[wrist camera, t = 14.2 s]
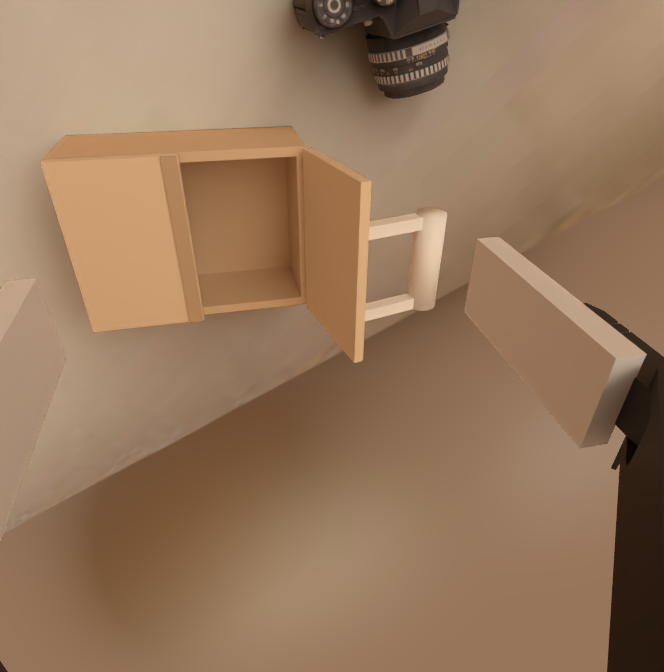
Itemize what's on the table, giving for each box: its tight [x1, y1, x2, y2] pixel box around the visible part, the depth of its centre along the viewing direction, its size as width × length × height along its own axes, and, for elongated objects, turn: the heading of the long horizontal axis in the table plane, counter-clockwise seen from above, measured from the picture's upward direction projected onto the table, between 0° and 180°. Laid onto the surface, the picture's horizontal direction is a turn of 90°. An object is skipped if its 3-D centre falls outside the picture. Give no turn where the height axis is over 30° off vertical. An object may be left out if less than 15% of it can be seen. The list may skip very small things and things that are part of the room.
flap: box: [303, 147, 447, 363], centre depth 43 cm, size 15×10×8 cm
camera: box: [293, 0, 459, 98], centre depth 41 cm, size 14×11×10 cm
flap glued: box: [40, 153, 204, 332], centre depth 42 cm, size 15×10×1 cm, turn 0°
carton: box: [44, 126, 307, 315], centre depth 47 cm, size 15×20×8 cm
